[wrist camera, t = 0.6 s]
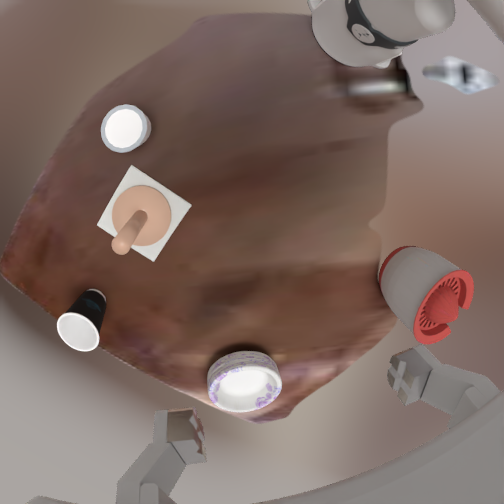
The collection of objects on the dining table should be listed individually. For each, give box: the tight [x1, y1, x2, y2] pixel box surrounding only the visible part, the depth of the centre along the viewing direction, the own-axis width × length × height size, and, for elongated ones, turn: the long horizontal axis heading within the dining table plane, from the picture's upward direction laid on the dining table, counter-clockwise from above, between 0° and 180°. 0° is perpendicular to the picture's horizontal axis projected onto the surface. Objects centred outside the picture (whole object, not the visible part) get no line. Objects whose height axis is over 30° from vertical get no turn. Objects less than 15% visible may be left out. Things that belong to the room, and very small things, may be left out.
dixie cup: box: [57, 289, 106, 351], centre depth 46 cm, size 8×8×11 cm
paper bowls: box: [207, 351, 282, 412], centre depth 59 cm, size 15×15×8 cm
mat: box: [97, 165, 191, 262], centre depth 47 cm, size 12×12×1 cm
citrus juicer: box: [379, 246, 474, 344], centre depth 51 cm, size 16×17×20 cm
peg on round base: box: [112, 185, 171, 255], centre depth 40 cm, size 10×10×14 cm
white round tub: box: [101, 104, 151, 153], centre depth 38 cm, size 7×7×7 cm
